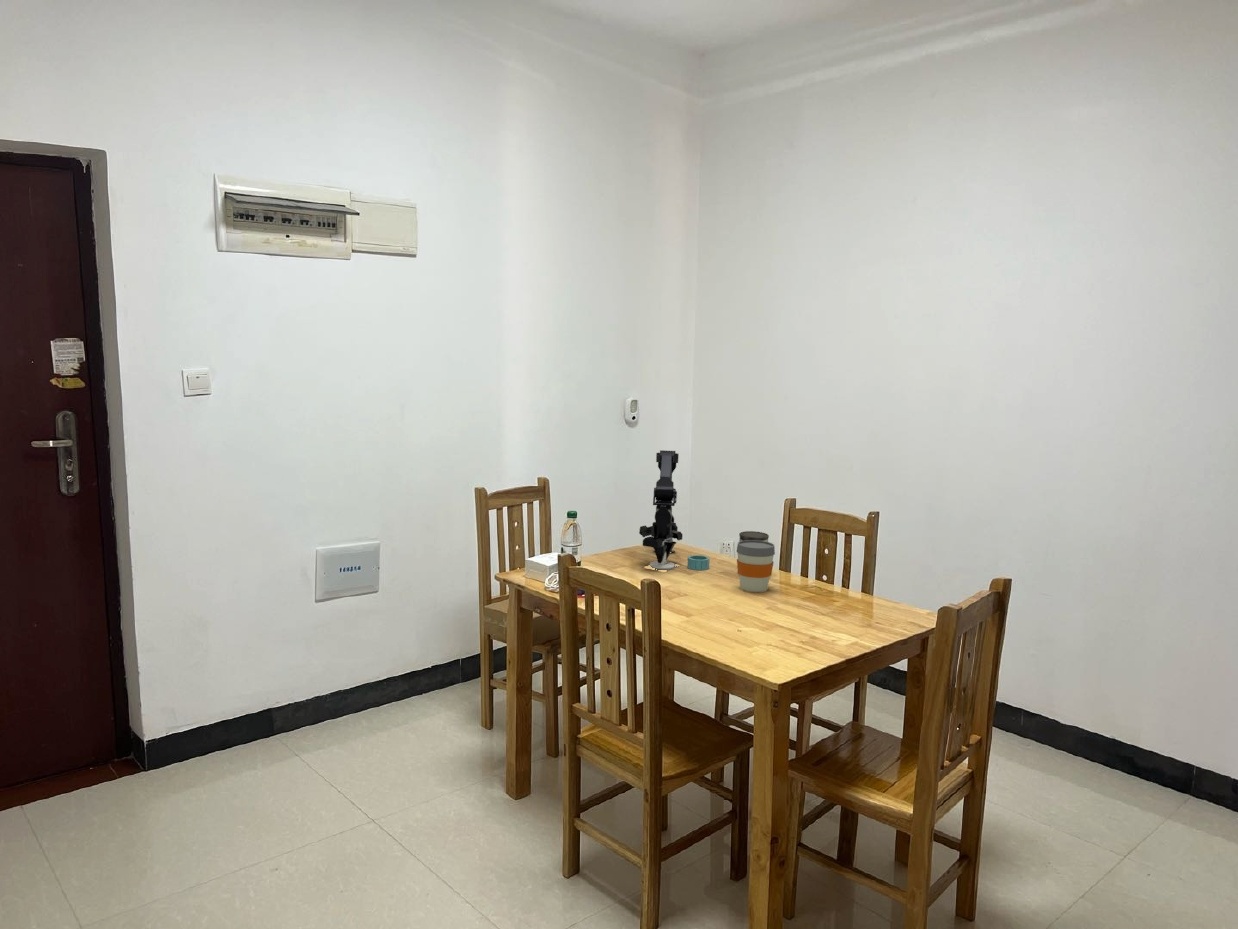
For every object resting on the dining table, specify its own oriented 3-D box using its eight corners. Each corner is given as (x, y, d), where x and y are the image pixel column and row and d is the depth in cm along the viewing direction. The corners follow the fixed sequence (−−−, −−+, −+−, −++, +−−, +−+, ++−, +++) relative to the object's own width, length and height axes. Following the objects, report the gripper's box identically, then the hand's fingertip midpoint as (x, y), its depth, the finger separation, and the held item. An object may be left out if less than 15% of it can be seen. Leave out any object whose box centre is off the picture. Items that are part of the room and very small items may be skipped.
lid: (657, 561, 316) (658, 547, 315) (679, 565, 311) (679, 551, 310) (644, 566, 309) (645, 552, 308) (666, 570, 304) (666, 556, 303)
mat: (660, 561, 319) (660, 560, 318) (683, 565, 313) (683, 564, 313) (639, 568, 307) (639, 567, 307) (663, 573, 301) (663, 572, 301)
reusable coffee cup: (771, 584, 291) (773, 540, 289) (774, 594, 279) (776, 549, 277) (734, 582, 293) (736, 539, 291) (735, 592, 280) (737, 547, 278)
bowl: (693, 564, 315) (694, 554, 315) (712, 568, 311) (713, 557, 310) (683, 568, 309) (683, 558, 308) (702, 572, 304) (702, 561, 304)
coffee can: (748, 578, 299) (749, 538, 297) (732, 570, 308) (733, 532, 306) (772, 575, 303) (774, 536, 301) (756, 568, 312) (758, 530, 311)
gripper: (657, 513, 320) (656, 554, 322) (630, 520, 304) (629, 563, 306) (683, 516, 314) (682, 558, 316) (657, 524, 298) (655, 568, 300)
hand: (662, 562), depth 310 cm, fingers closed on lid, 3 cm apart
